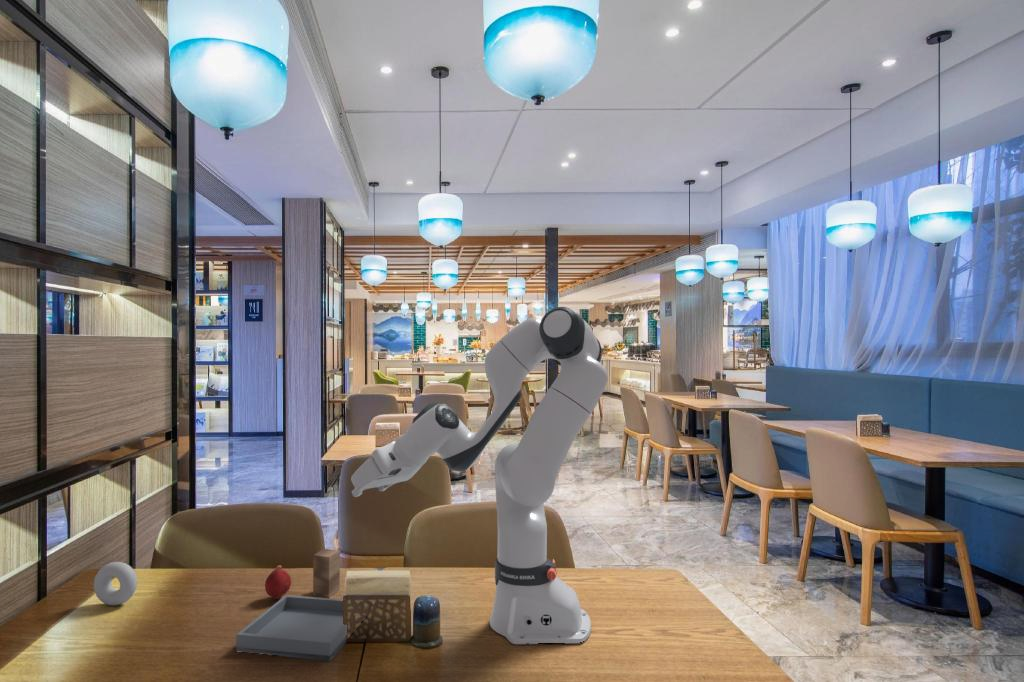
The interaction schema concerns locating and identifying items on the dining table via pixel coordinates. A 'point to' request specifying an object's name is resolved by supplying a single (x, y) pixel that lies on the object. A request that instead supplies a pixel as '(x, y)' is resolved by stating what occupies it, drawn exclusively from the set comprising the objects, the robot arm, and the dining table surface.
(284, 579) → the onion
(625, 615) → the dining table surface
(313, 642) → the tray
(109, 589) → the donut
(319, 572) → the walnut block
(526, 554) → the robot arm
